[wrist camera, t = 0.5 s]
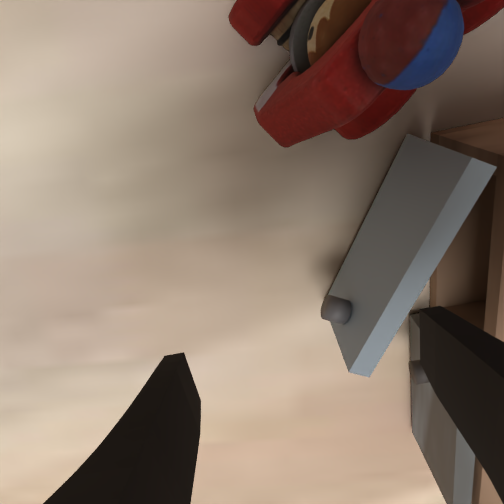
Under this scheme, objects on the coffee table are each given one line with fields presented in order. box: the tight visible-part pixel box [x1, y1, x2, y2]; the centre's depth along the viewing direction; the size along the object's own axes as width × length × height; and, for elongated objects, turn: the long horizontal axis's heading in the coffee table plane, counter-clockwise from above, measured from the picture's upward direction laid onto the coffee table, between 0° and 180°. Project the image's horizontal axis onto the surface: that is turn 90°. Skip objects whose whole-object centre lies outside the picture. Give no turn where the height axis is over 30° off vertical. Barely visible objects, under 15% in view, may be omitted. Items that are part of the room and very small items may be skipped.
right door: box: [321, 134, 497, 377], centre depth 17 cm, size 2×10×6 cm, turn 161°
